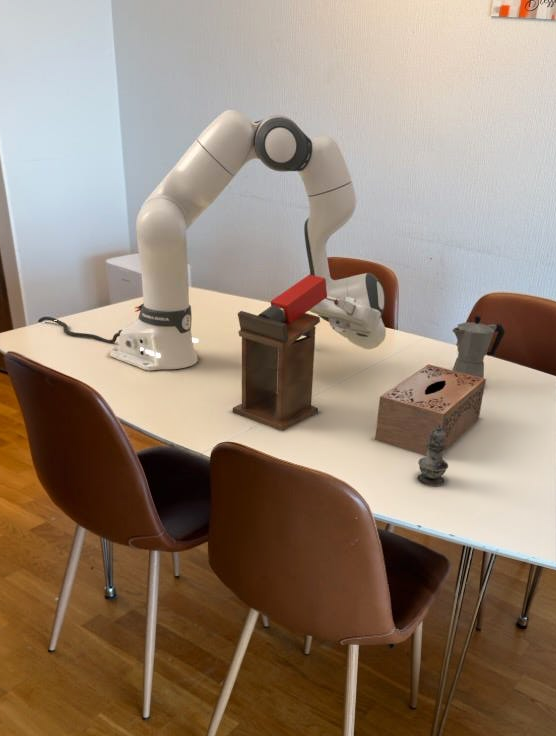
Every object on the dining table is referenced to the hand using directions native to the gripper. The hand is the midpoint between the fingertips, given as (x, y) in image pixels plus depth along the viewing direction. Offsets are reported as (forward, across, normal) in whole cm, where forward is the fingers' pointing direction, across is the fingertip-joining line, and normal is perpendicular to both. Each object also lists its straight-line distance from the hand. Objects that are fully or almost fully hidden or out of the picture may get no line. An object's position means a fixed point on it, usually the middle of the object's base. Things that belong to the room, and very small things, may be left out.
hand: (320, 296), depth 161 cm
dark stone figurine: (+5, +43, +30) cm, 52 cm away
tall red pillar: (+7, 0, +9) cm, 11 cm away
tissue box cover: (-14, +31, +19) cm, 39 cm away
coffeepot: (-43, +25, +2) cm, 49 cm away
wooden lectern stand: (+1, 0, +28) cm, 28 cm away
